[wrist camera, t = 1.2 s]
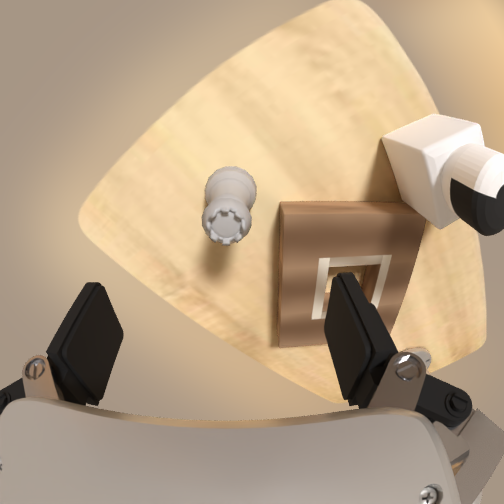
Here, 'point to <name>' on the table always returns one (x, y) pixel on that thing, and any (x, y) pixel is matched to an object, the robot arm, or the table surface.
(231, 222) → the rook chess piece
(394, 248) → the board
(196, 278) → the table surface
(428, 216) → the medicine bottle
